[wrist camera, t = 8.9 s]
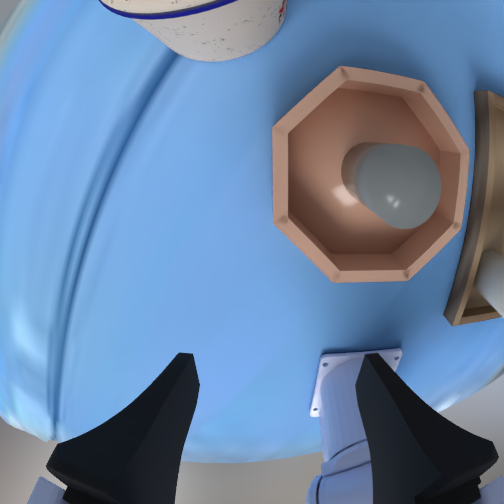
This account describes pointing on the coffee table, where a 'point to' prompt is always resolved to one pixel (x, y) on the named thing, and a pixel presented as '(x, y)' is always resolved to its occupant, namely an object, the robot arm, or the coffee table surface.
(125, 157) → the coffee table surface
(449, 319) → the tray
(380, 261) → the bowl
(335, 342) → the coffee table surface
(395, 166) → the grey rounded cylinder
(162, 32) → the teacup with lid
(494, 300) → the light stone
